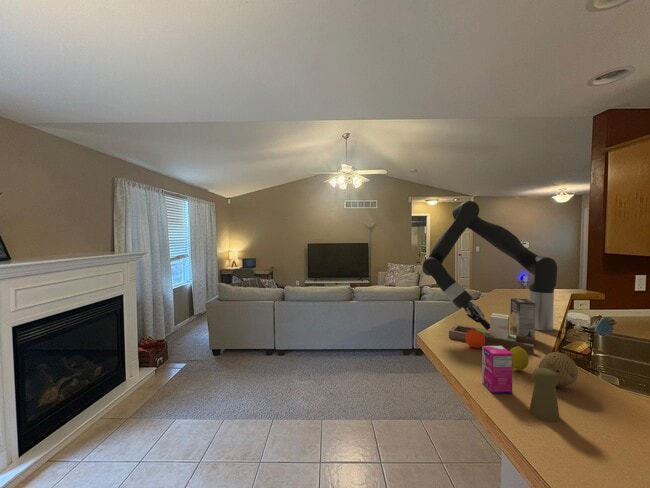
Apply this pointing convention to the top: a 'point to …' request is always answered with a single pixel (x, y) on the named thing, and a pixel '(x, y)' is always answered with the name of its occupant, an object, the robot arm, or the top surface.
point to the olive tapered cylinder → (545, 395)
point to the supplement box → (497, 369)
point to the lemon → (519, 358)
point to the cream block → (499, 326)
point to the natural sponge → (561, 368)
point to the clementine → (475, 338)
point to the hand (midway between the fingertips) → (489, 328)
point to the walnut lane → (495, 338)
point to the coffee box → (522, 317)
